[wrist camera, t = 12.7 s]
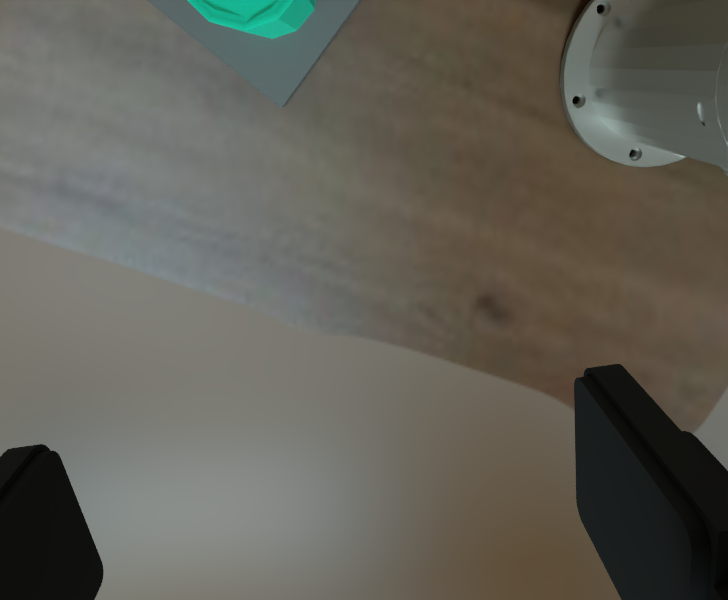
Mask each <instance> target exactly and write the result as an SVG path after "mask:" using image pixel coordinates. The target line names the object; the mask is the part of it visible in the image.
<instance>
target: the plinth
mask: <svg viewBox="0 0 728 600" xmlns="http://www.w3.org/2000/svg"><path fill="white" fill-rule="evenodd" d="M147 1H148V2H150V3H151V4H152V5H153V6H155V7H156V8H157V9H158V10H160V11H161V12H162V13H163V14H165V15H166V16H167V17H168V18H170V19H171V20H172V21H173V22H175V23H176V24H177V25H178V26H179V27H181V28H182V29H183V30H184V31H186V32H187V33H188V34H189V35H191V36H192V37H193V38H194V39H196V40H197V41H198V42H199V43H201V44H202V45H203V46H204V47H206V48H207V49H208V50H209V51H211V52H212V53H213V54H214V55H216V56H217V57H218V58H219V59H221V60H222V61H223V62H224V63H226V64H227V65H228V66H229V67H231V68H232V69H233V70H234V71H236V72H237V73H238V74H239V75H240V76H242V77H243V78H244V79H245V80H247V81H248V82H249V83H250V84H252V85H253V86H254V87H255V88H257V89H258V90H259V91H260V92H262V93H263V94H264V95H265V96H267V97H268V98H269V99H270V100H272V101H273V102H274V103H275V104H277V105H278V106H279V107H280V108H283V107H284V106H286V105H287V103H288V102H289V100H290V99H291V98H292V96H293V95H294V93H295V92H296V91H297V89H298V88H299V87H300V85H301V84H302V82H303V81H304V80H305V78H306V77H307V75H308V74H309V73H310V71H311V70H312V69H313V67H314V66H315V64H316V63H317V62H318V60H319V59H320V57H321V56H322V55H323V53H324V52H325V50H326V49H327V48H328V46H329V45H330V44H331V42H332V41H333V39H334V38H335V37H336V35H337V34H338V32H339V31H340V30H341V28H342V27H343V26H344V24H345V23H346V21H347V20H348V19H349V17H350V16H351V14H352V13H353V12H354V10H355V9H356V8H357V6H358V5H359V3H360V2H361V1H362V0H316V4H315V9H314V11H313V12H312V13H311V14H310V16H309V17H308V18H307V19H306V20H305V22H304V23H303V24H302V25H301V27H300V28H299V29H298V30H297V31H294V32H291V33H288V34H285V35H282V36H280V37H277V38H274V39H271V38H267V37H263V36H259V35H255V34H251V33H247V32H243V31H240V30H236V29H233V28H229V27H226V26H222V25H219V24H215V23H212V22H209V21H208V20H207V19H206V18H205V17H204V16H203V15H202V14H201V13H200V12H199V11H198V10H197V9H196V8H194V7H193V6H192V5H191V4H190V3H189V2H188V1H187V0H147Z"/></svg>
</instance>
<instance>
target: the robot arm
mask: <svg viewBox="0 0 728 600" xmlns="http://www.w3.org/2000/svg"><path fill="white" fill-rule="evenodd" d="M598 5H600V6H601V7H602V11H601V13H600V14H598V13H597V6H598ZM560 89H561V98H562V103H563V106H564V109H565V113H566V116H567V118H568V120H569V122H570V124H571V126H572V127H573V129H574V131H575V133H576V134H577V135H578V136H579V137H580V138H581V140H582V141H583V142H584V143H585V144H586V145H587V146H588V147H590V148H591V149H592V150H594V151H595V152H596V153H598V154H599V155H601V156H603V157H605V158H608V159H610V160H612V161H615V162H618V163H621V164H625V165H629V166H638V167H651V166H662V165H665V164H669V163H673V162H676V161H680V160H682V159H684V158H686V157H689V158H692V159H696V160H700V161H703V162H707V163H710V164H714V165H717V166H720V167H721V168H722V170H723V173H724V174H725V175H726V176H727V177H728V0H590V1H589V3H588V4H587V5H586V6H585V8H584V9H583V11H582V12H581V14H580V15H579V17H578V19H577V20H576V22H575V23H574V26H573V28H572V30H571V32H570V35H569V37H568V39H567V41H566V45H565V49H564V53H563V57H562V61H561V71H560ZM575 96H577V98H578V101H577V103H575V104H573V103H572V100H573V98H574V97H575ZM631 150H633V154H632V155H631V156H629V153H630V151H631ZM574 399H575V448H576V449H575V450H576V499H577V507H578V511H579V515H580V518H581V521H582V523H583V524H584V527H585V529H586V531H587V533H588V535H589V537H590V538H591V540H592V542H593V544H594V546H595V548H596V550H597V552H598V554H599V556H600V558H601V560H602V562H603V564H604V566H605V568H606V570H607V572H608V573H609V576H610V578H611V580H612V581H613V584H614V586H615V588H616V589H617V592H618V594H619V595H620V597H621V599H622V600H728V471H727V470H726V469H725V468H724V467H723V465H722V464H721V463H720V462H719V461H718V460H717V459H716V458H715V457H714V456H713V455H712V454H711V453H710V451H709V450H708V449H707V448H706V447H705V446H704V445H703V444H702V443H701V442H700V441H699V440H698V438H696V437H695V436H694V435H693V434H692V433H690V432H686V431H681V430H680V429H679V428H678V427H677V426H676V425H675V424H674V423H673V421H672V420H671V419H670V418H669V417H668V416H667V415H666V414H665V413H664V411H663V410H662V409H661V408H660V407H659V406H658V405H657V404H656V403H655V401H654V400H653V399H652V398H651V397H650V396H649V395H648V394H647V393H646V392H645V390H644V389H643V388H642V387H641V386H640V385H639V384H638V383H637V382H636V380H635V379H634V378H633V377H632V376H631V375H630V374H629V373H628V372H627V370H626V369H625V368H624V367H623V366H622V365H620V364H614V365H607V366H599V367H592V368H587V369H586V370H585V372H584V377H580V378H576V379H575V383H574ZM102 579H103V565H102V561H101V559H100V556H99V554H98V551H97V549H96V546H95V544H94V541H93V539H92V536H91V534H90V531H89V529H88V526H87V523H86V521H85V518H84V516H83V513H82V511H81V509H80V506H79V503H78V501H77V498H76V496H75V493H74V491H73V488H72V486H71V483H70V481H69V478H68V476H67V473H66V470H65V468H64V465H63V463H62V460H61V458H60V456H59V454H58V453H56V452H55V451H50V449H49V448H48V447H47V446H45V445H42V444H40V445H33V446H25V447H19V448H12V449H8V450H7V451H6V452H4V453H3V455H2V456H1V457H0V600H94V599H95V597H96V595H97V593H98V590H99V588H100V586H101V583H102Z"/></svg>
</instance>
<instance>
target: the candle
mask: <svg viewBox="0 0 728 600" xmlns="http://www.w3.org/2000/svg"><path fill="white" fill-rule="evenodd" d="M187 1H188V2H189V3H190V4H191V5H192V6H193V7H194V8H196V9H197V10H198V11H199V12H200V13H201V14H202V15H203V16H204V17H205V18H206V19H207V20H208V21H209V22H212V23H215V24H219V25H222V26H226V27H229V28H233V29H236V30H240V31H243V32H247V33H251V34H255V35H259V36H263V37H267V38H271V39H274V38H277V37H280V36H282V35H285V34H288V33H291V32H294V31H297V30H298V29H299V28H300V27H301V25H302V24H303V23H304V22H305V20H306V19H307V18H308V17H309V16H310V14H311V13H312V12H313V11H314V9H315V4H316V0H187Z"/></svg>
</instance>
